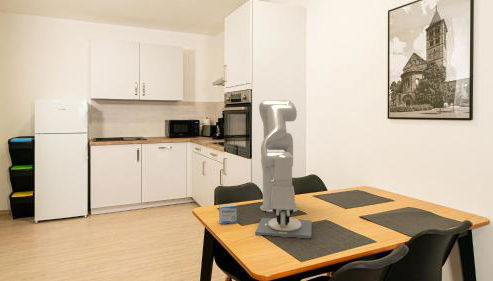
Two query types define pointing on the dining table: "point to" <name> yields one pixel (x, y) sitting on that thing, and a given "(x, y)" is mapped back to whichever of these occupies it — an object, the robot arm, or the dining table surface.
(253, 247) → the dining table surface
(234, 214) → the medicine box
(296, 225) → the dial
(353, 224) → the dining table surface
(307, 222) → the dial board
